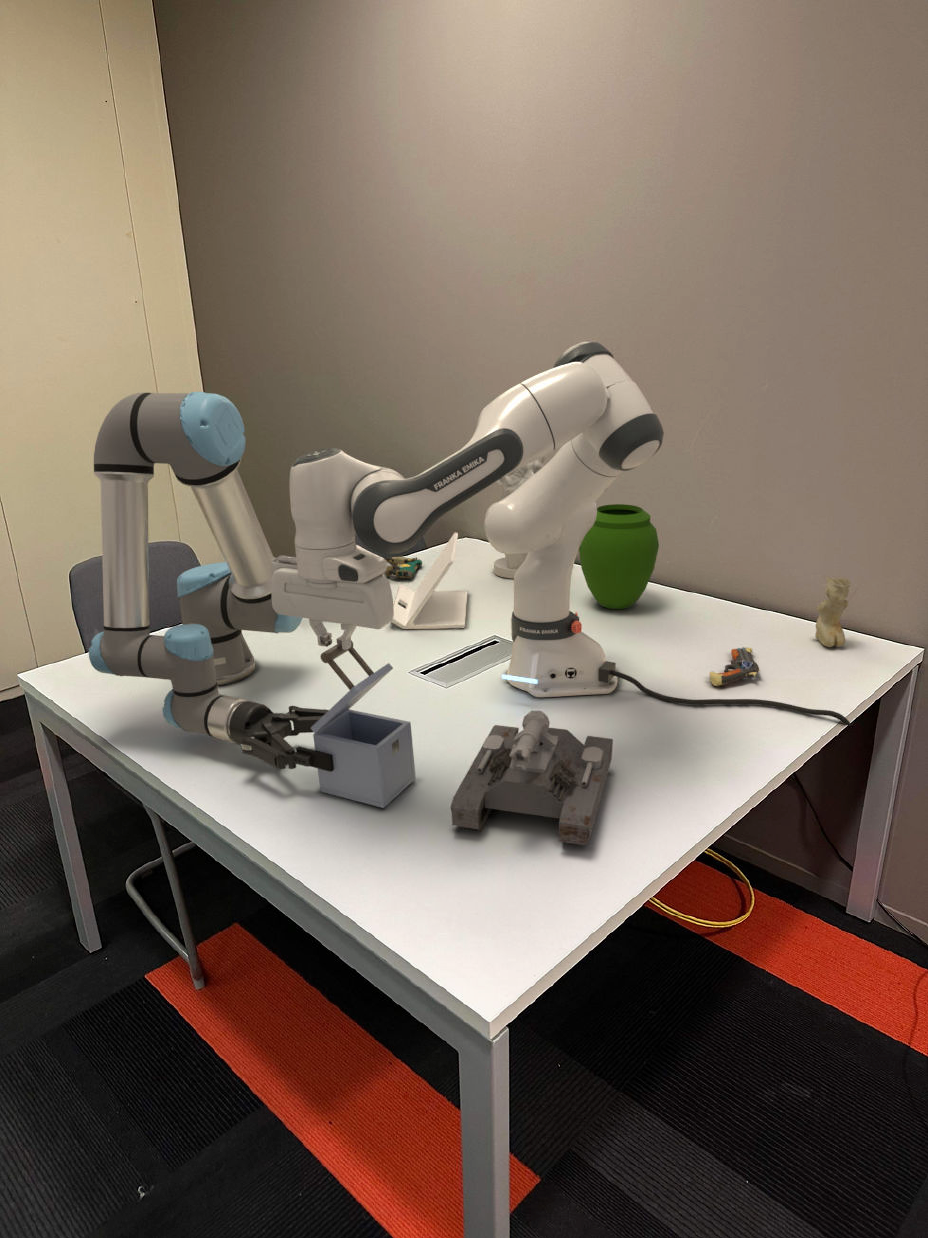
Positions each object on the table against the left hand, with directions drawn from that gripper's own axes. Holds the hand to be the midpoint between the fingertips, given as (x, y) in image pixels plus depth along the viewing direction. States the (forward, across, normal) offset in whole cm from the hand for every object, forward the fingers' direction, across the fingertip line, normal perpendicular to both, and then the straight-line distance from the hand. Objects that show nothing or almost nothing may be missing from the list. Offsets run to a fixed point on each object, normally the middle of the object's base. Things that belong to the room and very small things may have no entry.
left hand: (350, 748), depth 137 cm
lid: (+2, 0, +9) cm, 9 cm away
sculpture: (+64, -91, -6) cm, 111 cm away
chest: (+3, 0, -6) cm, 7 cm away
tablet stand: (-28, -76, -6) cm, 81 cm away
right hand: (-1, 0, +18) cm, 18 cm away
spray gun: (-52, -101, -6) cm, 113 cm away
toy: (+29, -8, -6) cm, 31 cm away
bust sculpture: (-17, -111, -7) cm, 113 cm away
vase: (+14, -98, -6) cm, 99 cm away
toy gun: (+47, -69, -6) cm, 84 cm away
